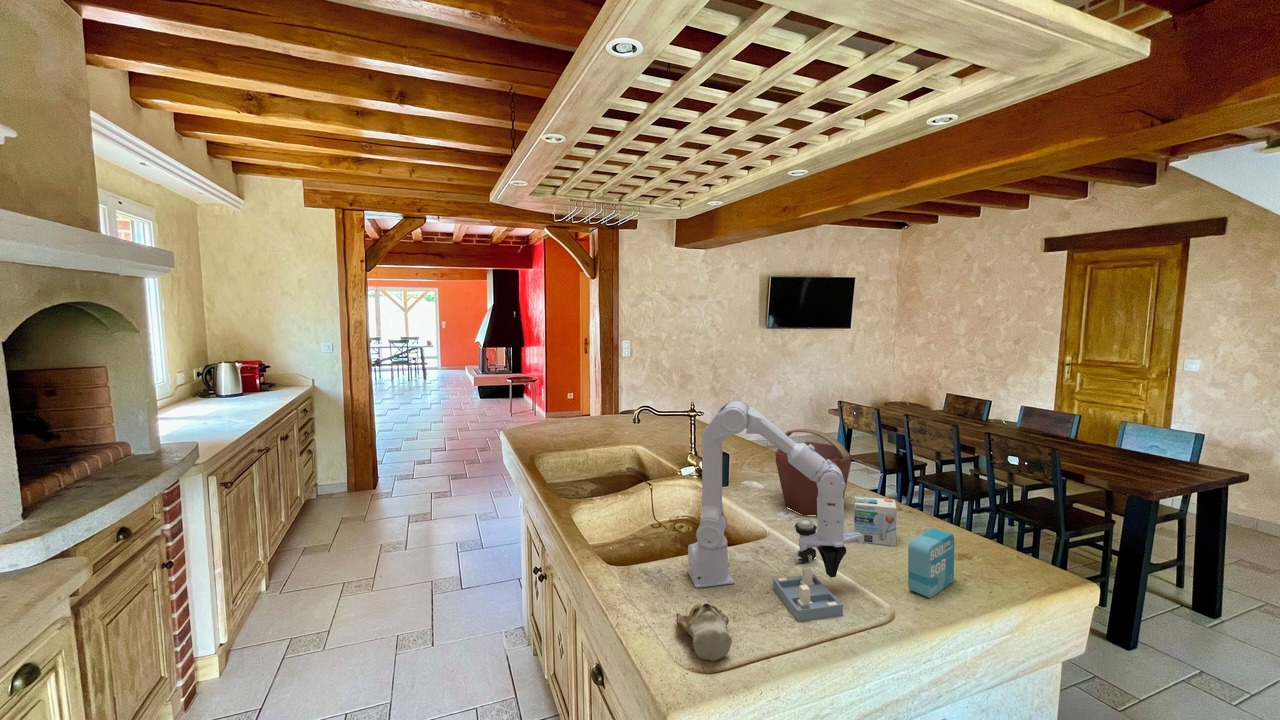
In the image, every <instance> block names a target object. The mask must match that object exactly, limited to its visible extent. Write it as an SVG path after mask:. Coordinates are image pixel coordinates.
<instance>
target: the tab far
mask: <svg viewBox="0 0 1280 720" xmlns="http://www.w3.org/2000/svg"><path fill="white" fill-rule="evenodd" d="M812 574H813V570H812V569H811V568H810V567H809V566H806V567H804V566H803V567H802V568H801V576H802V581H800V585H807V586H811V585H815V584H814V583H813V578H812Z"/></svg>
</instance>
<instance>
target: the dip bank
mask: <svg viewBox="0 0 1280 720" xmlns="http://www.w3.org/2000/svg"><path fill="white" fill-rule="evenodd" d="M812 578H813V583H814V584H815V585H811V586H808V587H809V588H810V601H811V602H812V603H813V604H812V605H804V606H798V605H797V600H799V586H800V581H802V575H796V576H789V577H788V576H786V577H781V578H780V577H779V578H773V579H772V589H773V591H774V592H775V594H776V595H777V596H778V597H779V599H780V600H781V601H782V602H783V604H784V605H785V607H786V608H787V609H788V610H789V612H790V613H791V615H792V616H793V618H795V620H796V621H797V623H798V622H800V623H801V622H804V621H805V622H807V621H813V620H820V619H829V618H835V617H842V616H844V605H843V603H841V601H840V600H839V599H838V598H837V597H836V596H835V594H833V593H832V592H831V590H829V589H828V587H826V586H825V584H824V583H823V582H822V581H821V580H820V579H819V578H818V576H816V575H815V574H814V573H812Z"/></svg>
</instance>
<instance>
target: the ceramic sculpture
mask: <svg viewBox="0 0 1280 720" xmlns="http://www.w3.org/2000/svg"><path fill="white" fill-rule="evenodd" d="M728 624H729V617H728V616H726V615H725V614H724V613H723V611H722V609H718V607H717V606H715V605H714V604H712V603H707V602H705V603H697V604H695V605H694V606H693V607H692V608H691V609H690V611H689V614H688V615H682V614H680V613H676V625H677V627H678V628H679V630H680V631H681V632H683V633H685V634H687V635H688V636H691V638H692V646H693V650H694V652H695V653H696V655H697V656H698V658H700V659H701V660H703V661H705V660H706V661H709V660H710V662H716V661H718V660H721V659H723V658H725V657H726V656H727V654H728V653H729V651H730V650H731V646H732V642H733V641H732V640H733V639H732V636H731V634H730V633H729V632H728V630H727V628H728Z"/></svg>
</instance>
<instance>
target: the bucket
mask: <svg viewBox="0 0 1280 720" xmlns="http://www.w3.org/2000/svg"><path fill="white" fill-rule="evenodd" d="M793 433H806V434H807V433H808V434H812V435H814V436H818V437H820V438H822V439H823V440H825V441H826V442H828V443H829V444H828V443H821V442H813V441H804V442H803V441H802V443H805V444H806V445H808V446H809V444H811V445H812V446H813V447H814V451H815V452H817V453H818V454H819V455H820V456H822V457H823V458H824V459H825V460H827V459H829V460H830V461H831V462H832V463H835V464H836V465H837V467H838V468H839V469H840V470H841V472H842V475H843V478H844V482H845V484H846V486H845V489H844V491H843V499H844V498H845V495H846V489H847V485H848V479H849V475H850V469H851V466H852V454H851V453H850V452H849V451H848V450H846V448H845V447H844V445H843V444H842V443H841V442H839V441H838V440H837V439H835V437H832V436H831V435H828V434H827V433H826V432H822V431H819V430H814V429H809V428H807V429H806V428H797V429H792V430H791V429H790V430H786V432H785V433H784V434H785V435H787V436H788V437H789V438H790V436H792V434H793ZM775 464H776V469H777V473H778V477H779V483H780V487H781V491H782V496H783V500H784V504H785V508H786V507H788V508H790V509H792V510H794V511H796V512H798V513H800V514H802V515H816V516H817V496H818V487H817V482H815V481H812V480H810V479H809V478H808V477H806V476H805V475H804V474H803V473H801V472H800V471H799V470H798V469H796V468H795V467H794V466H793V465H791V464H790V463H789V462H788V456H787V454H786V453H785V452H783V451H782V450H781V449H779V448H777V450H776V451H775Z"/></svg>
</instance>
